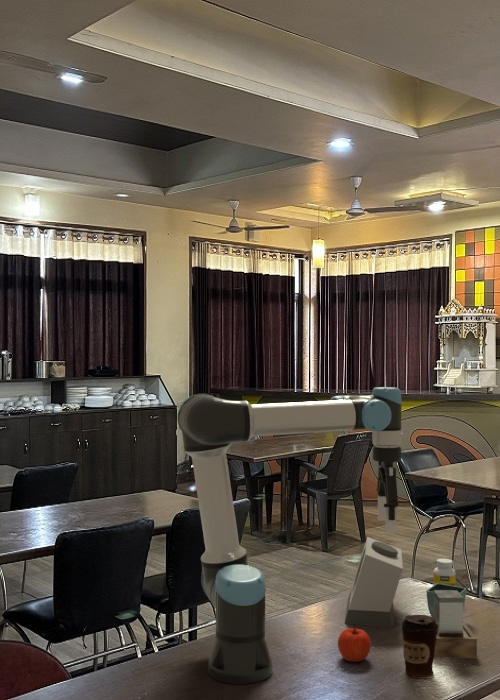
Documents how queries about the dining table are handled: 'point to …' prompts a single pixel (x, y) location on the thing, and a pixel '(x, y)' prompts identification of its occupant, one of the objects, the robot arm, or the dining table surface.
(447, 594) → the block
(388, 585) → the alarm clock
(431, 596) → the flower pot
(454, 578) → the pill bottle
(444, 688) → the dining table surface
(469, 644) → the walnut stand
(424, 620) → the coffee cup
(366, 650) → the apple
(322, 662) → the dining table surface
